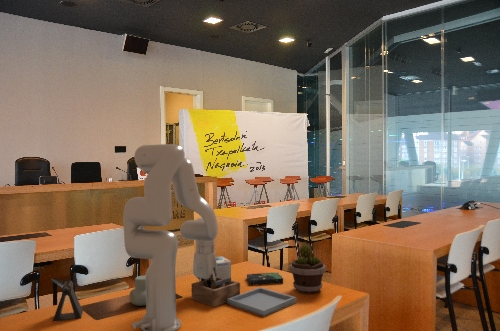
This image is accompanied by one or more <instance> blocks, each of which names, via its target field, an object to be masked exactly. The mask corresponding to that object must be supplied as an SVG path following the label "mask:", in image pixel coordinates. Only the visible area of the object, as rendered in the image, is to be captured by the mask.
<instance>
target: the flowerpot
mask: <svg viewBox="0 0 500 331" xmlns="http://www.w3.org/2000/svg"><path fill="white" fill-rule="evenodd" d="M312 252H313V249H312V246H311V245H309V244H308V243H307V242H306V241H305V240H304V242H303V243H301V245H300V246H299V250H298V254H299V257H298V258H297V259H294V260H293V261H291V263H290V265H289V271H290V273H292V278H293V282H292V286H293V287H294V289H295V291H296V292H298V293H300V294H303V295H304V294H305V295H310V294H316V293H319V292H320V290H322V287H323V281H322V280H323V277H324V276H323V275H324V273H326V268H327V267H326V265H325V264H324V263H323V261H322V260H320V259H319V258H318V256H316V254H314V253H312Z"/></svg>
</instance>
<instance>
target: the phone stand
mask: <svg viewBox="0 0 500 331" xmlns="http://www.w3.org/2000/svg"><path fill="white" fill-rule="evenodd" d="M67 283H68V284H67ZM67 287H68V288H67ZM66 296H68V298H69V303H70V304H71V308H72V311H73V312H66V313H65V312H64V313H62V312H63V309H64V305H65V304H64V303H65V301H66V300H65V299H66ZM83 311H84V310H83V309H82V305H81V304H80V301H79V299H78V297H77V294H76V292H75V290H74V282H73V281H72V280H69V282H68V280H66V281H64V284H63V286H62V288H61V297H60V299H59V302H58V305H57V307H56V310H55V313H54V316H53V317H52V322H53V321H56V322H63V321H69V320H70V321H72V320H71V319H73V320H79V319H78V318H80V319H82V316H83Z"/></svg>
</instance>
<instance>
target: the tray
mask: <svg viewBox="0 0 500 331" xmlns="http://www.w3.org/2000/svg"><path fill="white" fill-rule="evenodd" d="M296 303H297V297H296V296H293V295H289V294H286V293H282V292H279V291H275V290H272V289H268V288H264V287H257V288H254V289H251V290H248V291H246V292H242V293H240V294H239V295H237V296H234V297H231V298H228V299H227V303H226V304H227V305H229V306H232V307H235V308H238V309H240V310H244V311H247V312H250V313H252V314H255V315H258V316H261V317H266V316H269V315H271V314H273V313H275V312H277V311H280V310H282V309H285V308H286V307H289V306H292V305H294V304H296Z"/></svg>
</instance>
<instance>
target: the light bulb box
mask: <svg viewBox="0 0 500 331" xmlns="http://www.w3.org/2000/svg"><path fill="white" fill-rule="evenodd" d="M216 263H217V276H218V277H221V278H228V277H230V278H231V279H232V261H231V260H230V259H228V258H226V257H224V256H223V255H222V256H221V255H220V256H216ZM217 276H216V277H217Z"/></svg>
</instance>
